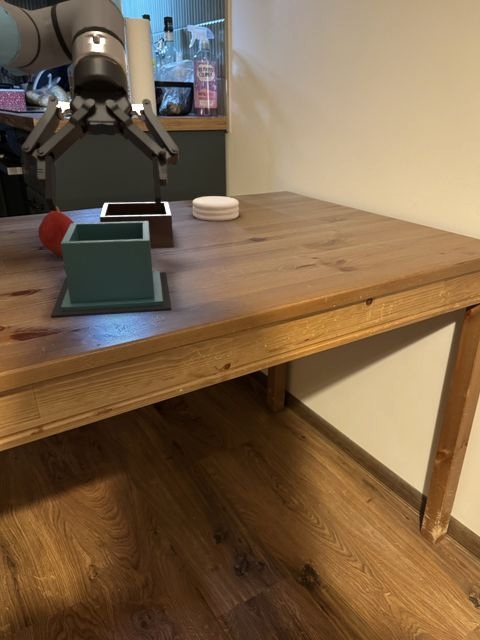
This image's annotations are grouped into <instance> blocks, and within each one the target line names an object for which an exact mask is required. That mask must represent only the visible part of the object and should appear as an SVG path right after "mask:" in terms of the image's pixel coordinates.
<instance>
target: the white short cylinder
mask: <svg viewBox="0 0 480 640" xmlns="http://www.w3.org/2000/svg"><path fill="white" fill-rule="evenodd" d="M239 205H240V202H239V200H238V199H236V198H233V197H229V196H224V195H223V196H221V195H220V196H219V195H209V196H200V197H197V198H194V199H193V200H192V217H194V218H195V219H197V220H201V221H207V222H208V221H209V222H225V221H232V220H234V219H237V218H238V217H239V215H240V213H239V210H240V208H239V207H240V206H239Z"/></svg>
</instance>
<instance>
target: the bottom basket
mask: <svg viewBox="0 0 480 640" xmlns="http://www.w3.org/2000/svg"><path fill="white" fill-rule="evenodd" d="M101 208H102V209H101V212H100V215H99V222H133V221H148V222H149V233H150V246H151V249H169V248H170V249H171V248H172V249H173V248H174V231H173V218H172V217H173V215H172V212H171V208H170V204H169V201H161V210H156V207H155V201H144V202H143V201H142V202H141V201H140V202H139V201H138V202H137V201H136V202H135V201H134V202H104V203H103V205H102V207H101Z"/></svg>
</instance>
